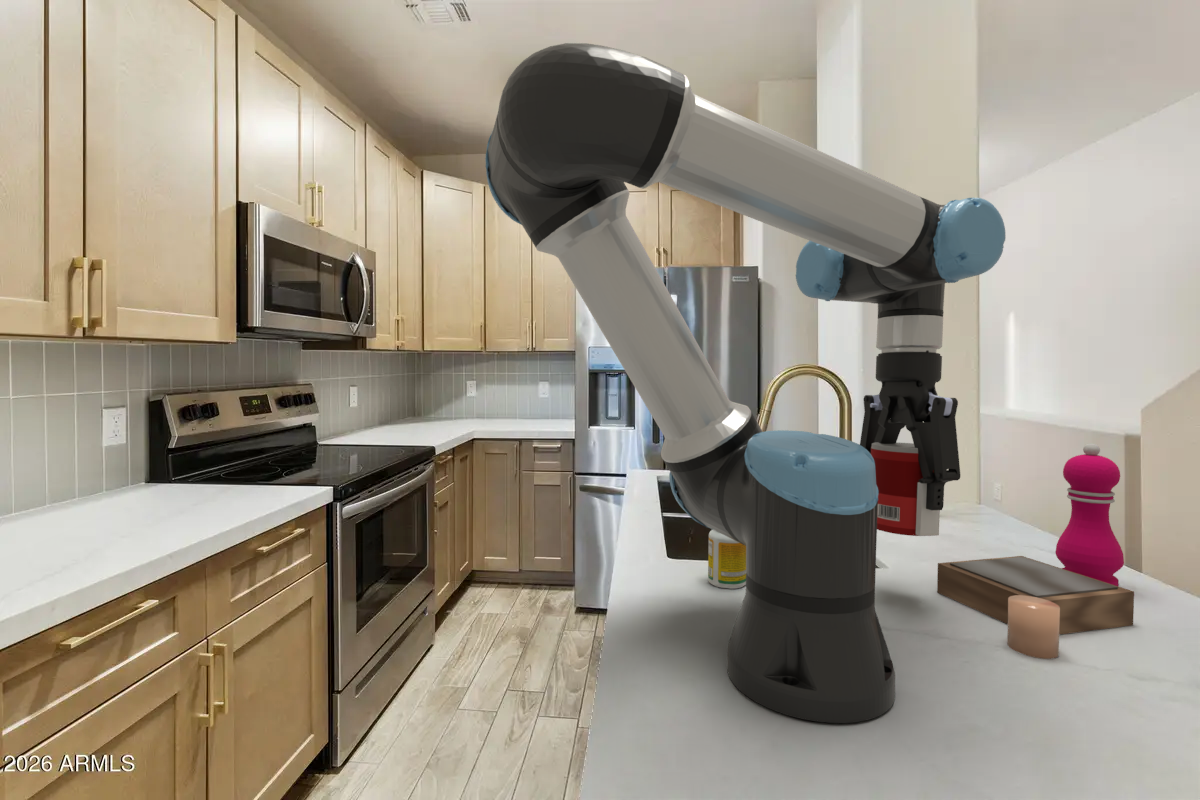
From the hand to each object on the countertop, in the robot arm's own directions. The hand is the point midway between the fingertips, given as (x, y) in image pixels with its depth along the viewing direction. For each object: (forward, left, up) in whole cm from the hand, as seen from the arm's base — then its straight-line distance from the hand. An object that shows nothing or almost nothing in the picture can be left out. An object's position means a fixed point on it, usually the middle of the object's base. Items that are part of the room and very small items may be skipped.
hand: (901, 526), depth 75 cm
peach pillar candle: (+4, -15, -10) cm, 18 cm away
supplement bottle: (-19, +11, -10) cm, 24 cm away
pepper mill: (+29, -2, -10) cm, 30 cm away
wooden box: (+14, -6, -10) cm, 18 cm away
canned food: (0, 0, -1) cm, 0 cm away
